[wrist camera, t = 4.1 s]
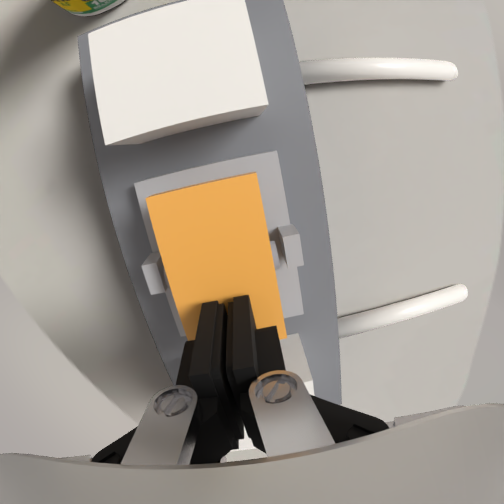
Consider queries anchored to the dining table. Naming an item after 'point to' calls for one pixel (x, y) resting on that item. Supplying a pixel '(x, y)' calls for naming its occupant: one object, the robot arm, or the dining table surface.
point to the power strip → (230, 158)
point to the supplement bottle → (87, 6)
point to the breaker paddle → (217, 249)
